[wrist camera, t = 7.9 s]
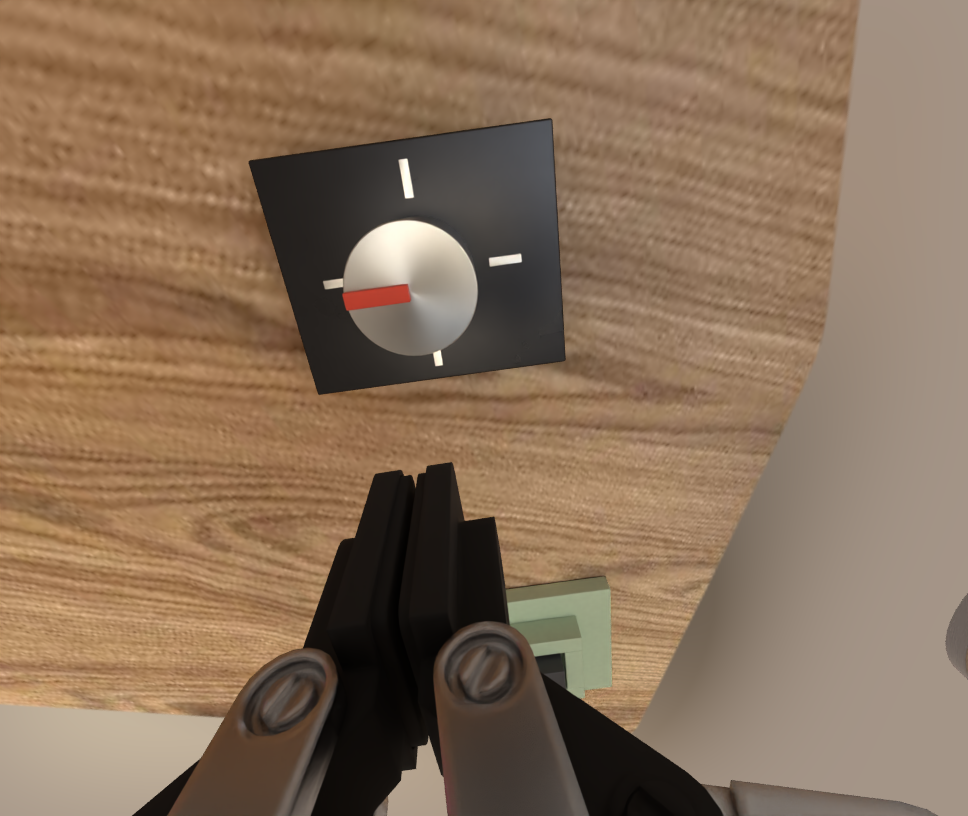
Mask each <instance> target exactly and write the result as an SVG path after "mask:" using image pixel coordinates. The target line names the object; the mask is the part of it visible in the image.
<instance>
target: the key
mask: <svg viewBox="0 0 968 816" xmlns="http://www.w3.org/2000/svg"><path fill="white" fill-rule="evenodd" d="M535 659H536V662H537V665H538V668H539V671H540V672H541V673H543V674H544V675H546V676H547V677H549V678H550V679H552V680H553V681H555V682H556V683H558V684H559V685H560V686H562V687H563V688H565V689H566V683H565V671H564V667H563V662H562V658H561V654H560V653H557V654H550V655H542V656H535Z"/></svg>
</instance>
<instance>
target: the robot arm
mask: <svg viewBox="0 0 968 816" xmlns="http://www.w3.org/2000/svg"><path fill="white" fill-rule="evenodd" d="M428 735H429V738H430V741H431V744H432V747H433V751H434V754H435V757H436V760H437V763H438V766H439V769H440V772H441V775H442V776H443V777H444V784H445V795H446V803H447V813H448V816H937V815H936V814H934V813H932V812H931V811H929V810H927V809H923V808H920V807H916V806H913V805H910V804H907V803H903V802H898V801H891V800H883V799H875V798H868V797H860V796H852V795H844V794H836V793H829V792H821V791H813V790H805V789H796V788H789V787H781V786H774V785H766V784H758V783H750V782H742V781H734V780H731V782H730V788H727V787H720V786H712V785H705V784H700V783H699V782H698V781H697V780H695V779H694V778H693V777H692V776H691V775H690V774H689V773H687V772H686V771H685V770H683V769H681V768H680V767H679V766H677V765H676V764H674V763H673V762H671V761H670V760H669V759H667V758H665V757H664V756H663V755H661V754H660V753H658V752H657V751H655V750H654V749H652V748H651V747H650V746H648V745H647V744H645V743H643V742H642V741H641V740H639V739H638V738H636V737H635V736H633V735H632V734H631V733H629V732H628V731H626V730H625V729H623V728H622V727H620V726H619V725H617V724H616V723H615V722H613V721H612V720H610V719H609V718H607V717H606V716H604V715H603V714H601V713H600V712H598V711H597V710H596V709H594V708H593V707H591V706H590V705H588V704H587V703H585V702H584V701H582V700H581V699H579V698H578V697H577V696H575V695H574V694H572V693H571V692H569V691H568V690H566V689H565V688H563V687H562V686H560V685H559V684H558V683H556V682H555V681H553V680H552V679H550V678H549V677H547V676H546V675H544V674H543V673H541V672H540V671H539V668H538V665H537V662H536V659H535V656H534V653H533V650H532V648H531V647H530V645H529V643H528V641H527V639H526V638H525V637H524V636H523V635H522V634H521V633H520V632H519V631H518V630H517V629H516V628H513V627H511V626H510V620H509V612H508V604H507V596H506V588H505V581H504V573H503V566H502V559H501V553H500V547H499V540H498V534H497V528H496V523H495V518H494V517H489V518H482V519H476V520H469V521H464V516H463V511H462V506H461V501H460V496H459V491H458V486H457V481H456V476H455V471H454V466H453V463H452V462H450V463H443V464H437V465H430V466H427V468H426V473H421V474H418V477H417V484H416V488H415V484H414V480H413V477H412V475H408V476H404V474H403V472H402V471H401V470H397V471H391V472H384V473H378V474H375V476H374V478H373V481H372V485H371V488H370V491H369V494H368V497H367V501H366V504H365V507H364V510H363V513H362V517H361V520H360V523H359V526H358V530H357V533H356V536H355V538H350V539H344V540H343V541H341V543H340V545H339V547H338V550H337V553H336V555H335V558H334V561H333V564H332V567H331V570H330V573H329V575H328V578H327V581H326V584H325V587H324V590H323V593H322V595H321V598H320V601H319V604H318V607H317V610H316V612H315V615H314V618H313V621H312V624H311V627H310V630H309V632H308V635H307V638H306V641H305V644H304V647H303V648H302V649H296V650H292V651H290V652H287V653H285V654H282V655H280V656H278V657H276V658H275V659H273V660H272V661H270V662H269V663H267V664H265V665H264V666H263V667H262V668H261V669H260V670H258V671H257V672H256V673H255V674H254V675H253V676H252V677H251V678H250V679H249V681H248V682H247V683H246V685H245V686H244V687H243V689H242V690H241V691H240V693H239V694H238V696H237V698H236V700H235V701H234V703H233V705H232V706H231V708H230V710H229V711H228V713H227V715H226V717H225V718H224V720H223V722H222V723H221V725H220V727H219V729H218V730H217V732H216V734H215V736H214V737H213V739H212V740H211V742H210V744H209V746H208V747H207V749H206V751H205V752H204V754H203V756H202V757H201V759H200V760H198V761H197V762H196V763H194V764H193V765H192V766H191V767H190V768H188V769H187V770H186V771H185V772H184V773H183V774H181V775H180V776H179V777H178V778H177V779H175V780H174V781H173V782H172V783H171V784H169V785H168V786H167V787H166V788H165V789H163V790H162V791H161V792H160V793H159V794H157V795H156V796H155V797H154V798H153V799H151V800H150V801H149V802H148V803H147V804H145V805H144V806H143V807H142V808H141V809H140V810H138V811H137V812H136V813H135V814H134V815H132V816H387V810H388V795H389V794H390V792H391V791H392V790H393V789H394V788H395V787H396V786H397V784H398V783H399V782H400V781H401V774H402V771H404V770H412V769H416V762H417V749H418V746H421V745H426V744H427V742H428Z"/></svg>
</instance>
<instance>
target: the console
mask: <svg viewBox="0 0 968 816" xmlns="http://www.w3.org/2000/svg"><path fill="white" fill-rule="evenodd" d="M249 166H250V169H251V172H252V176H253V179H254V182H255V186H256V189H257V192H258V196H259V199H260V202H261V206H262V209H263V212H264V216H265V219H266V222H267V226H268V229H269V232H270V236H271V239H272V242H273V246H274V249H275V252H276V256H277V259H278V262H279V266H280V269H281V272H282V276H283V279H284V282H285V286H286V289H287V292H288V295H289V299H290V302H291V305H292V309H293V312H294V315H295V319H296V322H297V325H298V329H299V332H300V335H301V339H302V342H303V345H304V349H305V352H306V355H307V359H308V362H309V365H310V369H311V372H312V375H313V379H314V382H315V385H316V389H317V392H318V394H319V395H321V394H329V393H336V392H343V391H350V390H358V389H365V388H372V387H380V386H387V385H394V384H401V383H409V382H416V381H423V380H431V379H438V378H445V377H452V376H460V375H467V374H474V373H482V372H489V371H496V370H503V369H511V368H518V367H525V366H533V365H540V364H547V363H554V362H562V361H565V360H566V358H565V340H564V322H563V304H562V286H561V268H560V250H559V231H558V213H557V195H556V177H555V159H554V141H553V123H552V119H551V118H548V119H541V120H534V121H527V122H520V123H513V124H506V125H499V126H491V127H484V128H477V129H470V130H463V131H456V132H449V133H442V134H434V135H427V136H420V137H413V138H406V139H399V140H392V141H385V142H377V143H370V144H363V145H356V146H349V147H342V148H335V149H328V150H320V151H313V152H306V153H299V154H292V155H285V156H278V157H271V158H263V159H256V160H250V161H249ZM415 216H424V217H431V218H435V219H437V220H440V221H442V222H444V223H446V224H448V225H449V226H451V227H452V228H453V229H454V230H455V231H456V232H458V234H459V235H460V236H461V237H462V238H463V240H464V241H465V243H466V244H467V247H468V249H469V251H470V254H471V257H472V260H473V264H474V268H475V272H476V277H477V282H478V300H477V305H476V310H475V313H474V316H473V318H472V320H471V322H470V324H469V326H468V327H467V329H466V330H465V332H464V333H463V334H462V335H461V336H460V337H459V338H458V339H457V340H456V341H455V342H454V343H452V344H451V345H449V346H448V347H446V348H444V349H442V350H440V351H437V352H434V353H432V354H427V355H419V356H410V355H402V354H397V353H394V352H391V351H388V350H386V349H384V348H382V347H380V346H378V345H377V344H375V343H374V342H373V341H371V340H370V339H369V338H368V337H366V336H365V335H364V334H363V333H362V331H361V330H360V329H359V328H358V326H357V325H356V324H355V322H354V320H353V319H352V317H351V315H350V313H349V311H347V310H346V307H345V303H344V299H343V295H342V294H343V293H344V292H343V276H344V270H345V265H346V262H347V260H348V257H349V255H350V253H351V251H352V249H353V248H354V246H355V245H356V244H357V242H358V241H359V240H360V239H361V238H362V237H363V236H364V235H365V234H366V233H368V232H369V231H370V230H372V229H373V228H375V227H377V226H379V225H381V224H384V223H386V222H389V221H394V220H399V219H404V218H409V217H415Z"/></svg>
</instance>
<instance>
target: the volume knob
mask: <svg viewBox="0 0 968 816" xmlns="http://www.w3.org/2000/svg"><path fill="white" fill-rule="evenodd" d="M343 292H344V293H343V294H342V295H343V299H344V303H345V307H346V310H347V311H349V313H350V315H351V317H352V319H353V320H354V322H355V324H356V325H357V326H358V328H359V329H360V330H361V331H362V333H363V334H364V335H365V336H366V337H368V338H369V339H370V340H371V341H373V342H374V343H375V344H377V345H378V346H380V347H382V348H384V349H386V350H388V351H391V352H394V353H397V354H402V355H410V356H419V355H427V354H432V353H434V352H437V351H440V350H442V349H444V348H446V347H448V346H449V345H451V344H452V343H454V342H455V341H456V340H457V339H458V338H459V337H460V336H461V335H462V334H463V333H464V332H465V330H466V329H467V327H468V326H469V324H470V322H471V320H472V318H473V316H474V313H475V310H476V305H477V300H478V282H477V277H476V272H475V268H474V264H473V260H472V257H471V254H470V251H469V249H468V247H467V244H466V243H465V241H464V240H463V238H462V237H461V236H460V235H459V234H458V232H456V231H455V230H454V229H453V228H452V227H451V226H449V225H448V224H446V223H444V222H442V221H440V220H437V219H435V218H431V217H424V216H415V217H409V218H404V219H399V220H394V221H389V222H386V223H384V224H381V225H379V226H377V227H375V228H373V229H372V230H370V231H369V232H368V233H366V234H365V235H364V236H363V237H362V238H361V239H360V240H359V241H358V242H357V244H356V245H355V246H354V248H353V249H352V251H351V253H350V255H349V257H348V260H347V262H346V265H345V270H344V276H343Z"/></svg>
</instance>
